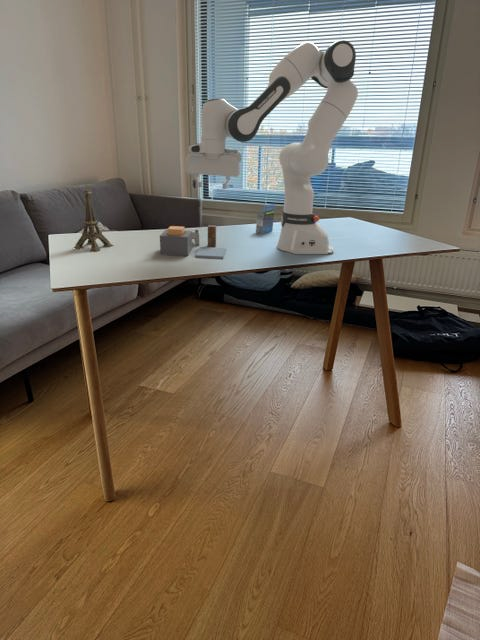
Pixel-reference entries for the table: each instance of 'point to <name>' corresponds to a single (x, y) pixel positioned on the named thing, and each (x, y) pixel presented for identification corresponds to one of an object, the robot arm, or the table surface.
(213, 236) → the brown rectangular block
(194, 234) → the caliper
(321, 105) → the robot arm
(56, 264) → the table surface
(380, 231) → the table surface
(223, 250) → the rest pad
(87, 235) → the eiffel tower
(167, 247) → the box
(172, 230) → the button
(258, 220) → the label tape box
